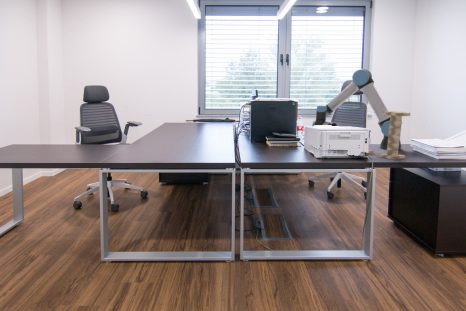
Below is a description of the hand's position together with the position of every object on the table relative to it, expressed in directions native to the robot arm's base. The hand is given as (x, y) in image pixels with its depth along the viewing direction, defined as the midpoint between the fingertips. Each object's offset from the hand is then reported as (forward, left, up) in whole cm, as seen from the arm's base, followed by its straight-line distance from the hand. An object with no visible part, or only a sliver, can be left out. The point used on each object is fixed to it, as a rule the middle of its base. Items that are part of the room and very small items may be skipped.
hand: (353, 130), depth 301 cm
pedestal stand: (0, +33, -14) cm, 35 cm away
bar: (-1, +6, -14) cm, 16 cm away
